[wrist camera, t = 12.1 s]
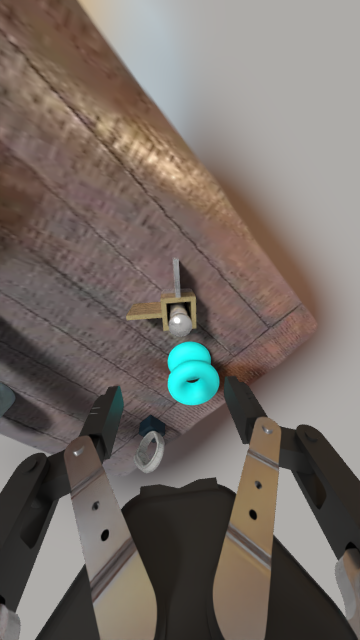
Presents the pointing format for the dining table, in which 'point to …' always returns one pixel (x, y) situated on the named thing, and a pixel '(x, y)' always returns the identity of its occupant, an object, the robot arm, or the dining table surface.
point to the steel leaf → (176, 284)
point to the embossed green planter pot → (5, 398)
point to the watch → (151, 432)
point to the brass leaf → (163, 308)
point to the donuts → (191, 374)
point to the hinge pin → (179, 320)
